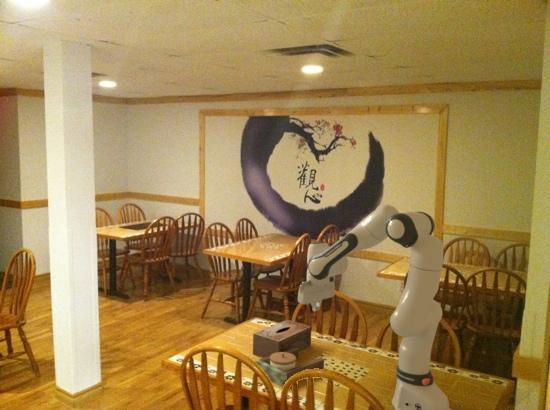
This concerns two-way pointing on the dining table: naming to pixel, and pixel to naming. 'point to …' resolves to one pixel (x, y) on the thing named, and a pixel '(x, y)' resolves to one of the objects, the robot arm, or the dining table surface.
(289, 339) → the tissue box cover
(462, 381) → the dining table surface
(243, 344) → the dining table surface
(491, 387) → the dining table surface
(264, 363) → the u-shaped frame
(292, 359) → the lidded jar
